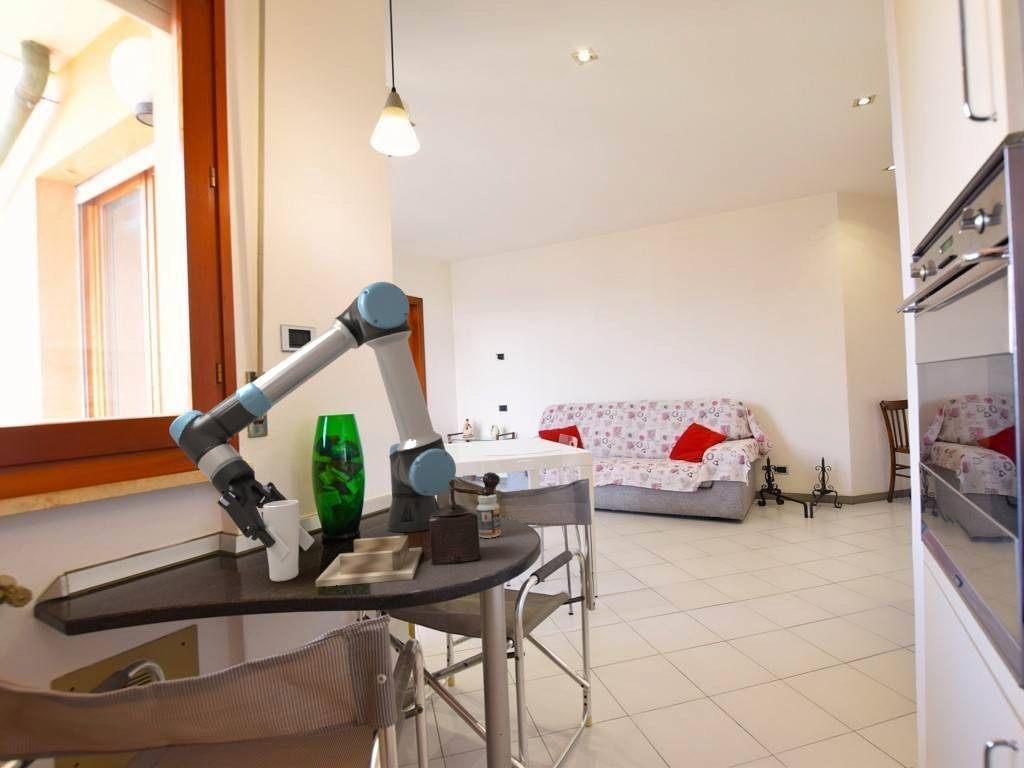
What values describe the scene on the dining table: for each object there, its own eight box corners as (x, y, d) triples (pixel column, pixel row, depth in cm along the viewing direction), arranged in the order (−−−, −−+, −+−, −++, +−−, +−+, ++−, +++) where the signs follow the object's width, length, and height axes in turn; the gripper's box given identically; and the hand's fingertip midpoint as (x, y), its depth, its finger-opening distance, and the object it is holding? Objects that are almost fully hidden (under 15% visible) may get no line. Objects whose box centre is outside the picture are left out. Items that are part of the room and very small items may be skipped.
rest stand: (315, 587, 99) (314, 562, 99) (340, 559, 117) (339, 537, 117) (412, 579, 100) (410, 554, 101) (421, 552, 118) (420, 531, 119)
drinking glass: (308, 571, 109) (305, 499, 110) (291, 583, 102) (288, 505, 103) (277, 572, 110) (274, 500, 110) (258, 584, 103) (255, 507, 103)
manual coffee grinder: (430, 566, 108) (425, 478, 108) (431, 552, 119) (427, 471, 119) (505, 559, 110) (500, 472, 110) (499, 545, 121) (495, 466, 121)
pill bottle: (500, 538, 127) (498, 497, 127) (476, 539, 127) (474, 498, 127) (501, 532, 132) (499, 493, 133) (478, 534, 132) (476, 494, 133)
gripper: (252, 476, 120) (317, 549, 115) (177, 492, 101) (251, 580, 96) (270, 452, 119) (337, 525, 114) (198, 464, 100) (275, 552, 95)
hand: (298, 550), depth 105 cm, fingers closed on drinking glass, 7 cm apart
